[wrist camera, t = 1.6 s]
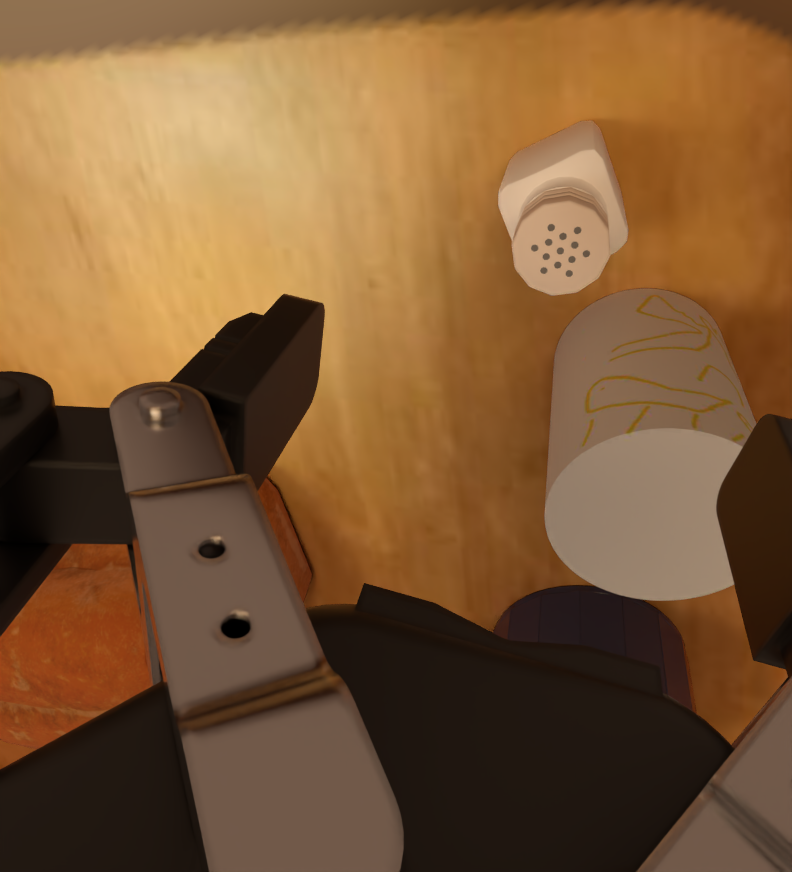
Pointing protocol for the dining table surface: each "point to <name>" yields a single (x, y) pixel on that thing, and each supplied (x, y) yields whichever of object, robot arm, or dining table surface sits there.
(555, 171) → the salt shaker
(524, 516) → the dining table surface
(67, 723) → the bread
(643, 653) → the pot
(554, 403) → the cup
